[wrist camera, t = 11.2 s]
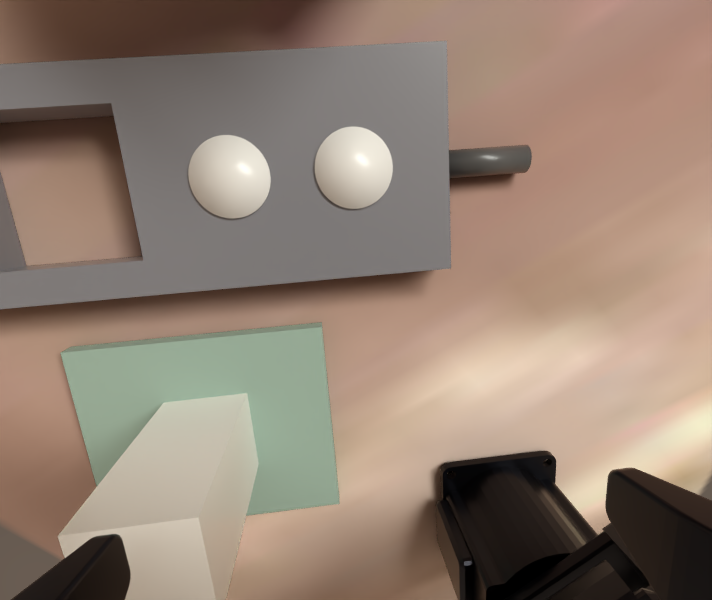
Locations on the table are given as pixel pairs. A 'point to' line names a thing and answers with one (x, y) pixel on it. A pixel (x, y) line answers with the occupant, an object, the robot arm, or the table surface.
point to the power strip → (257, 167)
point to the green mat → (211, 379)
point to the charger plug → (177, 499)
